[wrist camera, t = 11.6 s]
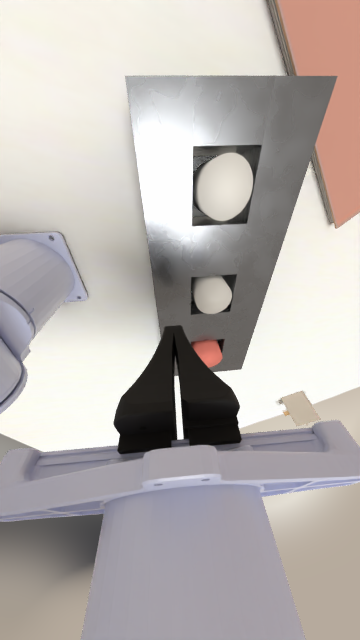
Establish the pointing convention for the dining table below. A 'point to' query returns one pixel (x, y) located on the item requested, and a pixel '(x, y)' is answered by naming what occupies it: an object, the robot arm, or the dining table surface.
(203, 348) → the red plug
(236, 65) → the dining table surface
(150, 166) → the block
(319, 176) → the notebook
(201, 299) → the plug
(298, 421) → the architectural model
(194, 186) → the plug
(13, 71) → the dining table surface
